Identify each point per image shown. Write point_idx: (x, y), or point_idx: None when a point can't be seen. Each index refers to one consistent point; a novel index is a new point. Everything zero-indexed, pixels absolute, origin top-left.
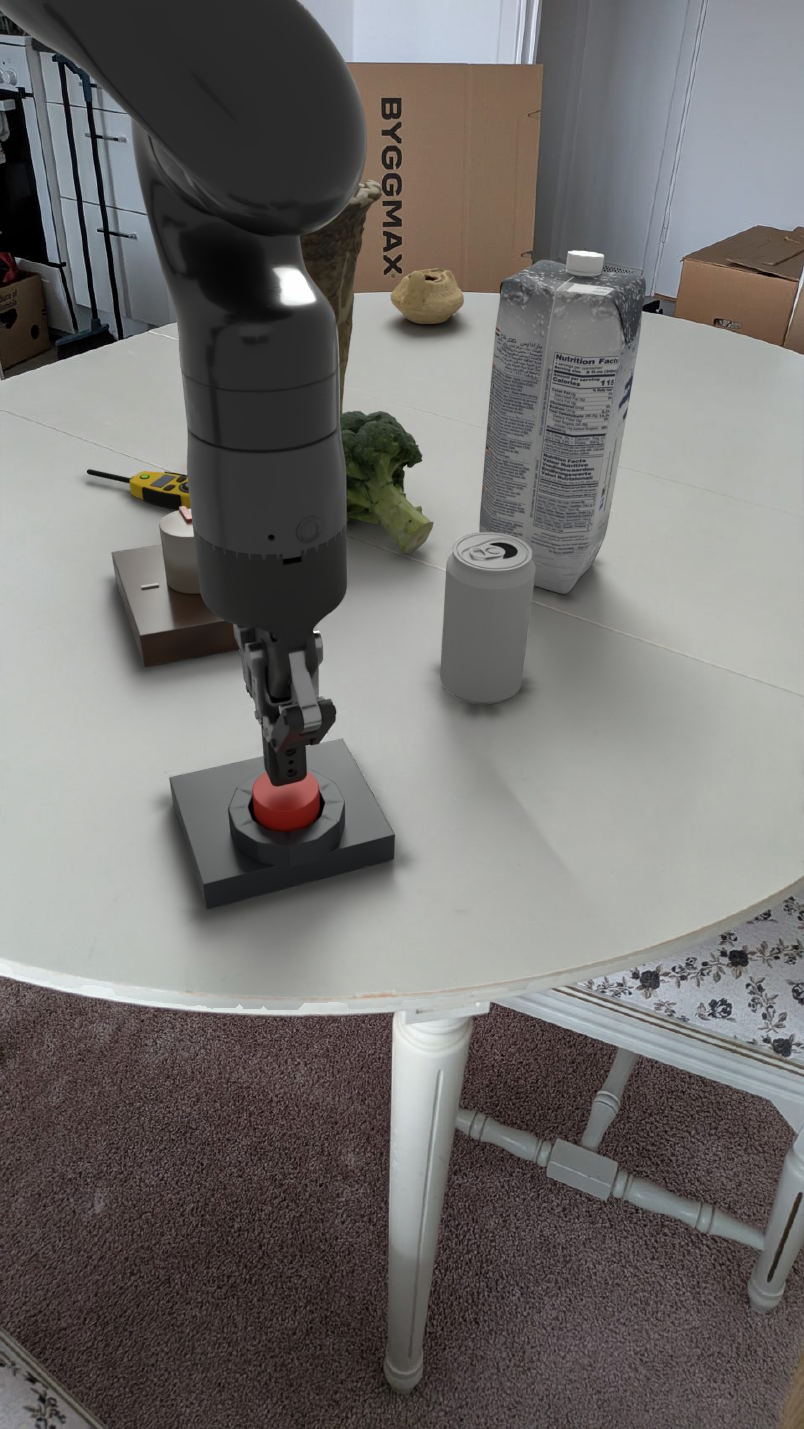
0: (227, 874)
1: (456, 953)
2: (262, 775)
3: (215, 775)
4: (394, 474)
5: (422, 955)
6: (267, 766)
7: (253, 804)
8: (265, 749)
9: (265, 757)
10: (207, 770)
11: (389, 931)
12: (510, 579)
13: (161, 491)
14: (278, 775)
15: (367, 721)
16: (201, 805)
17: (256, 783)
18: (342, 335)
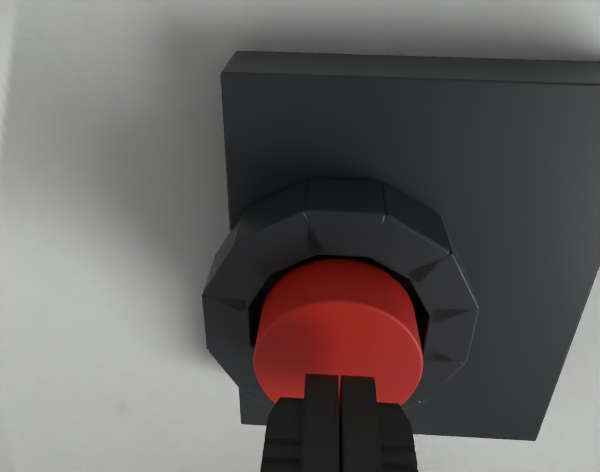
0: (235, 135)
1: (45, 378)
2: (411, 339)
3: (587, 200)
4: None
5: (48, 342)
6: (334, 409)
7: (350, 278)
8: (344, 463)
9: (353, 428)
10: None
11: (103, 321)
12: None
13: None
14: (287, 418)
15: (595, 453)
16: (500, 139)
17: (387, 320)
18: None
